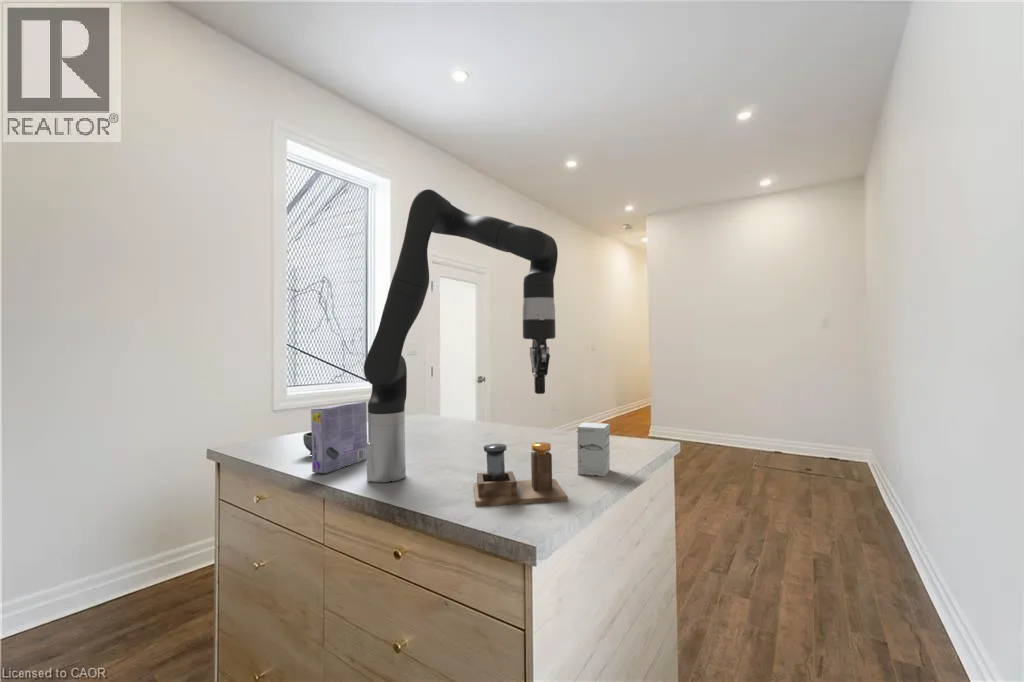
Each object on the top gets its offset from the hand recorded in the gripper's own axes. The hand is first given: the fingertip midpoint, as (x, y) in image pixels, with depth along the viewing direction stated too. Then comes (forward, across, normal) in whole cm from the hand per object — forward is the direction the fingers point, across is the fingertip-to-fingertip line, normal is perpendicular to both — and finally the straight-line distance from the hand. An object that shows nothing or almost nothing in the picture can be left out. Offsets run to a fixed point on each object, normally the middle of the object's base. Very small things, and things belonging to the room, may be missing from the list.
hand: (539, 393), depth 106 cm
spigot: (+22, 0, -10) cm, 24 cm away
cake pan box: (+23, -33, -52) cm, 66 cm away
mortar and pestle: (+23, -48, -62) cm, 82 cm away
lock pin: (+22, 0, 0) cm, 22 cm away
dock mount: (+23, 0, -5) cm, 23 cm away
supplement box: (+23, -14, +17) cm, 32 cm away
